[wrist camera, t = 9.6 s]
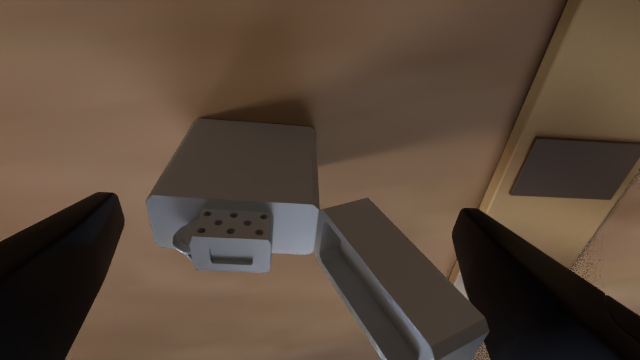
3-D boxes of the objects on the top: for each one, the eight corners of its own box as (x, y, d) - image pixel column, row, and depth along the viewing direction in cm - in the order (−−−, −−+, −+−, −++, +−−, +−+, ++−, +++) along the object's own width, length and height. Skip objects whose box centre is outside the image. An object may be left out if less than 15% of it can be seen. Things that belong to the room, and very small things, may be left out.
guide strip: (513, 332, 20) (520, 344, 19) (426, 330, 19) (430, 343, 19) (931, -293, 7) (990, -315, 7) (707, -331, 7) (747, -356, 6)
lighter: (197, 161, 13) (81, 402, 6) (192, 117, 12) (49, 346, 5) (389, 174, 13) (472, 406, 7) (400, 133, 12) (508, 357, 6)
